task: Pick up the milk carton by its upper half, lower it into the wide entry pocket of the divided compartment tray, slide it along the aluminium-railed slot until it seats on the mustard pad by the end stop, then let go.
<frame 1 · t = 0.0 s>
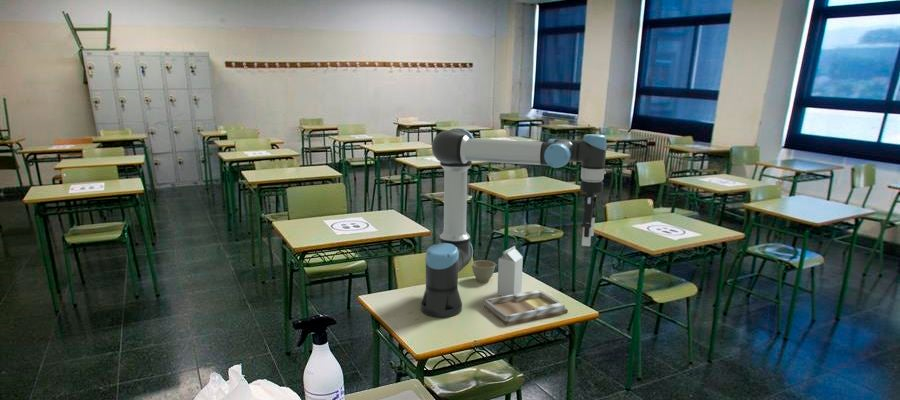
hand: (587, 240, 180), 28 cm above the table, fingers open, 13 cm apart
flower pot: (483, 280, 219), on the table
divided compartment tray: (525, 310, 190), on the table
milk carton: (509, 294, 205), on the table
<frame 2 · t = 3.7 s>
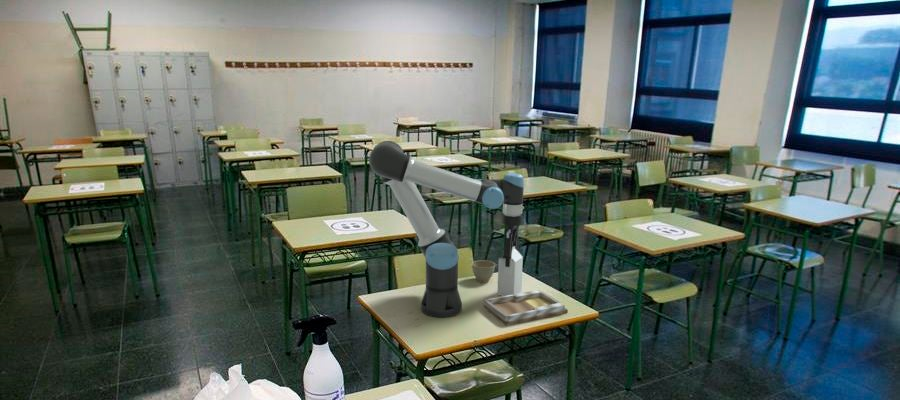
hand: (510, 270, 203), 10 cm above the table, fingers closed on milk carton, 8 cm apart
milk carton: (509, 294, 205), on the table, touching gripper
everything else where it was.
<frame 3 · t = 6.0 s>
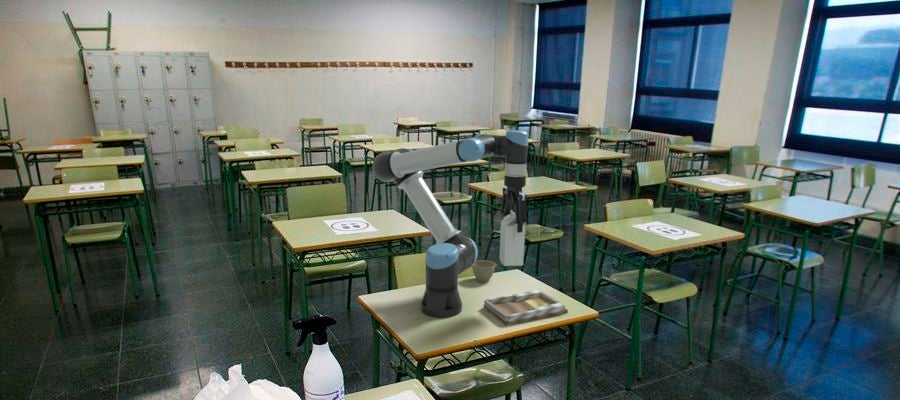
hand: (512, 237, 186), 27 cm above the table, fingers closed on milk carton, 8 cm apart
milk carton: (511, 263, 188), point 17 cm above the table, touching gripper
everything else where it was.
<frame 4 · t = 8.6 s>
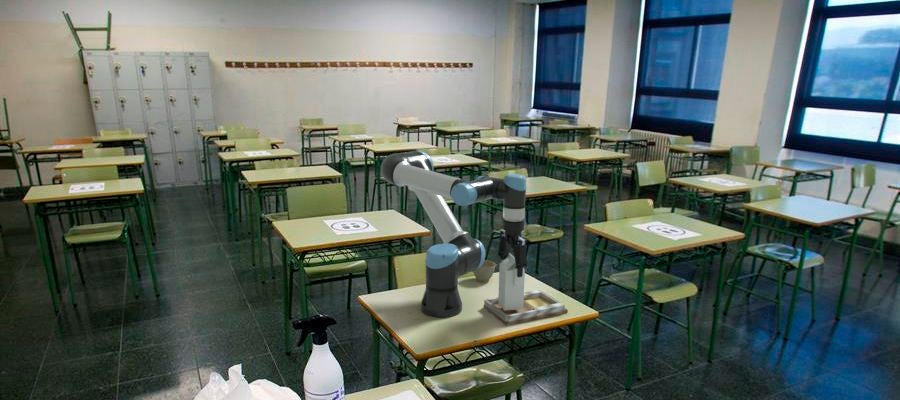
hand: (511, 280, 184), 12 cm above the table, fingers closed on milk carton, 8 cm apart
milk carton: (510, 306, 186), point 2 cm above the table, touching gripper
everything else where it was.
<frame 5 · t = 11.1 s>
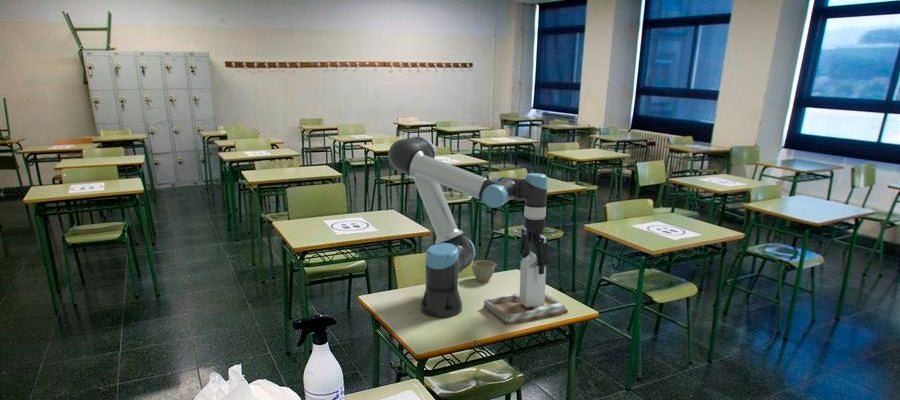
hand: (532, 278, 188), 12 cm above the table, fingers closed on milk carton, 8 cm apart
milk carton: (531, 303, 190), point 2 cm above the table, touching gripper
everything else where it was.
when the fingers open (12 cm above the table, at t = 13.4 s): milk carton stays where it is, resting on divided compartment tray.
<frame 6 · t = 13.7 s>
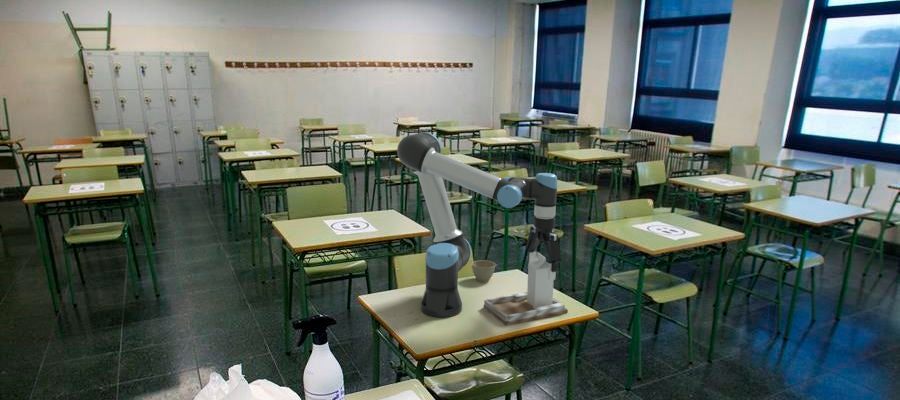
hand: (541, 274, 190), 13 cm above the table, fingers open, 11 cm apart
milk carton: (539, 304, 192), point 1 cm above the table, touching divided compartment tray
everything else where it was.
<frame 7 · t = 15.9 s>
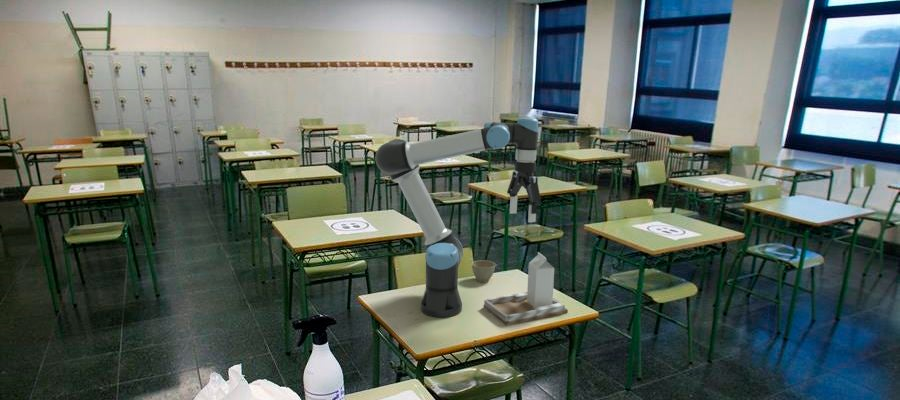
hand: (522, 217, 193), 32 cm above the table, fingers open, 13 cm apart
nothing on the table moved.
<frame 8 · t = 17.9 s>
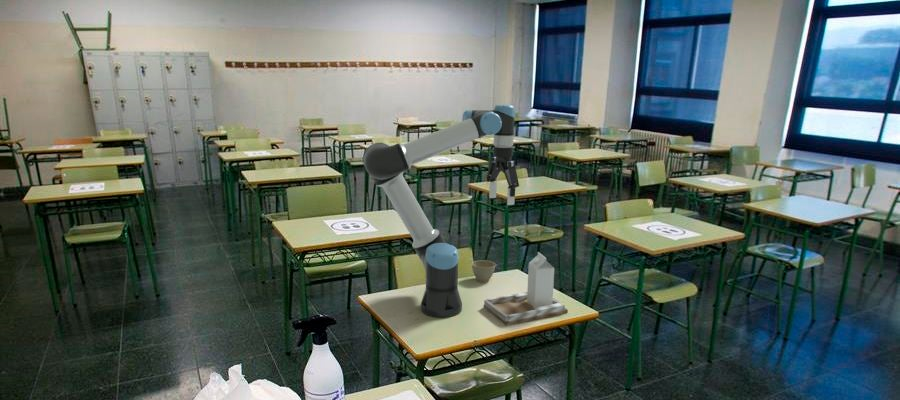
hand: (501, 201, 200), 37 cm above the table, fingers open, 13 cm apart
nothing on the table moved.
at the end: milk carton 0.2 cm from the target spot on the divided compartment tray, point 1.1 cm above the divided compartment tray's base; milk carton tilted 0°; the gripper is holding nothing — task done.
